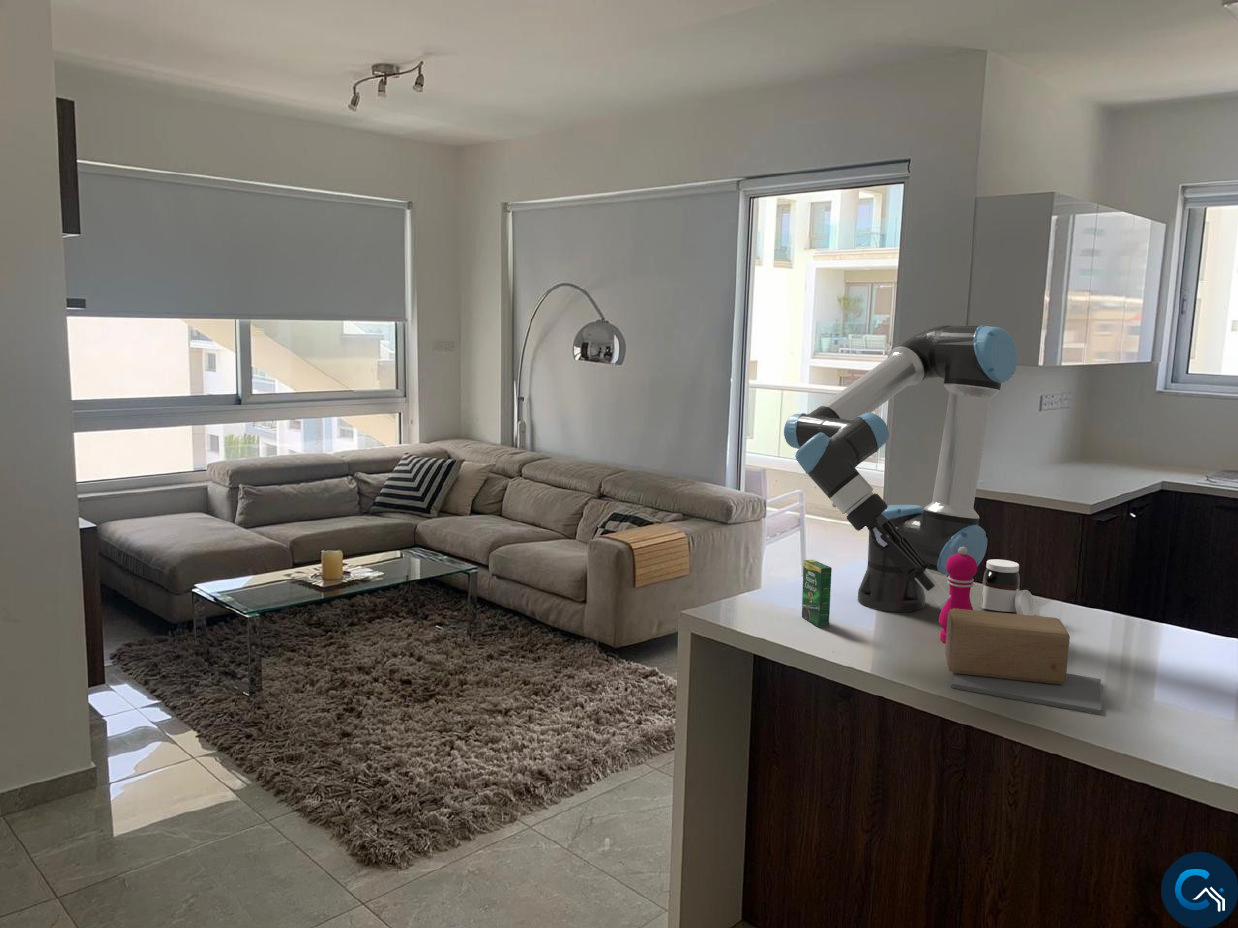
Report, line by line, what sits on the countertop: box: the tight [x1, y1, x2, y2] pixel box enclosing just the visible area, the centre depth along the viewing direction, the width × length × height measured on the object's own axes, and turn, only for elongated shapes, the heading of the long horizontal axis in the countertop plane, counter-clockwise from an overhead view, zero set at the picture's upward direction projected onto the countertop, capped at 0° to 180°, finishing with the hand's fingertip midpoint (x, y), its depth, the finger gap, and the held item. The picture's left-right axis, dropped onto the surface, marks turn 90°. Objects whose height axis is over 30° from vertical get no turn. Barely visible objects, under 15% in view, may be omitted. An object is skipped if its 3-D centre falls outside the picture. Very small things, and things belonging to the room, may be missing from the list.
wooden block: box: [944, 608, 1071, 685], centre depth 174 cm, size 10×10×20 cm
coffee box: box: [801, 559, 833, 628], centre depth 203 cm, size 8×3×13 cm, turn 17°
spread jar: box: [980, 558, 1036, 616], centre depth 211 cm, size 12×11×12 cm
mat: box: [950, 672, 1103, 715], centre depth 170 cm, size 16×24×1 cm, turn 64°
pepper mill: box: [938, 547, 978, 644], centre depth 192 cm, size 7×7×20 cm
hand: (944, 600), depth 175 cm, fingers closed
